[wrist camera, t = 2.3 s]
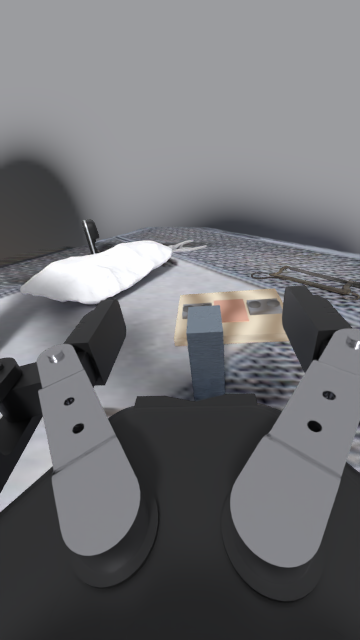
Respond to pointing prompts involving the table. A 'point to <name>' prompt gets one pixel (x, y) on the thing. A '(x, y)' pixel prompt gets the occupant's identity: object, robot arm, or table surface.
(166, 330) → the table surface
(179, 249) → the pliers
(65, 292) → the crumpled cloth
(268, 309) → the tan flat wooden board
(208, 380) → the link block
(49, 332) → the table surface
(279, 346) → the table surface
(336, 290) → the hacksaw
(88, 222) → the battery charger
